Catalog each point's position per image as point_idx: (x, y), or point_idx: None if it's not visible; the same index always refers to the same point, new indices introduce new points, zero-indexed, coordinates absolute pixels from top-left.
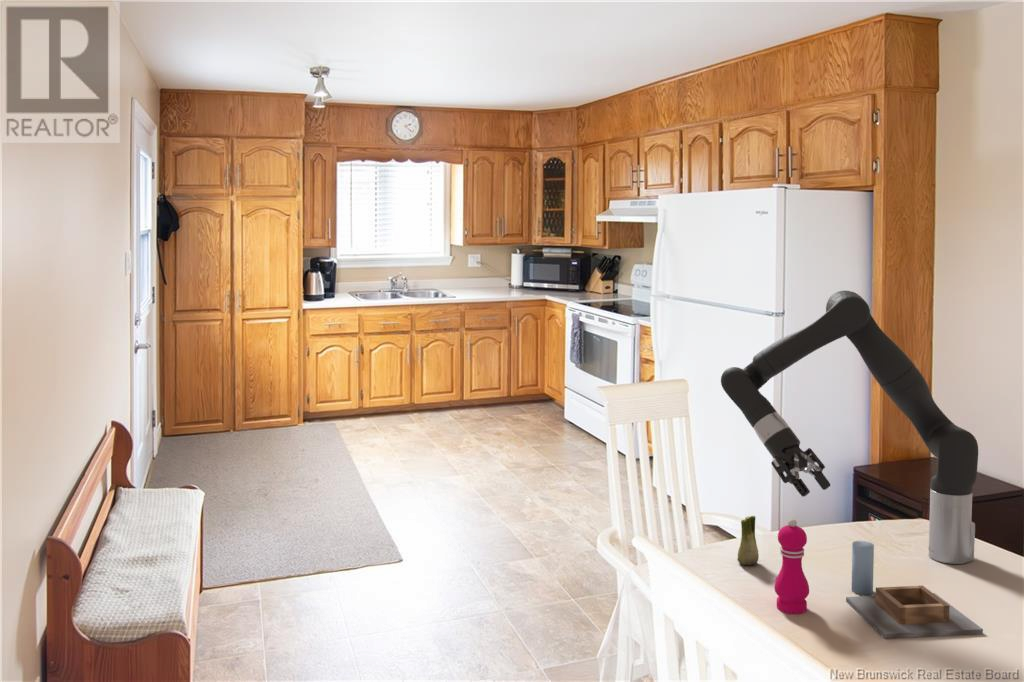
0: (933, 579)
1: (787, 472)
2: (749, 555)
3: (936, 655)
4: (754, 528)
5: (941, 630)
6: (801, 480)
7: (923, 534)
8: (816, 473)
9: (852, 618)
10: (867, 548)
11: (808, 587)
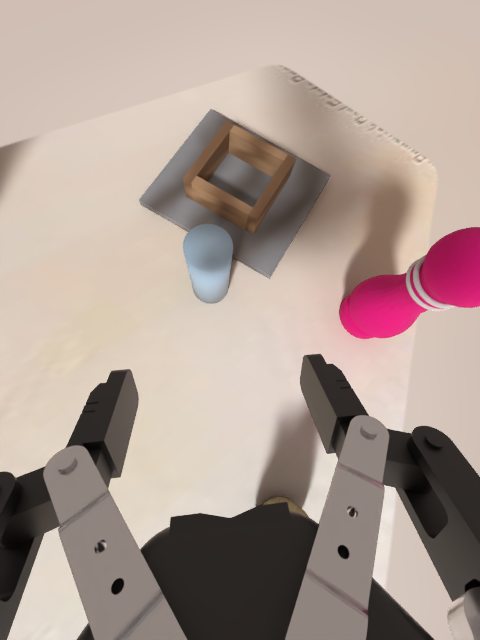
0: (63, 240)
1: (472, 469)
2: (296, 510)
3: (313, 125)
4: None
5: (259, 138)
6: (336, 406)
7: None
8: (102, 472)
9: (312, 238)
10: (221, 228)
11: (370, 278)
